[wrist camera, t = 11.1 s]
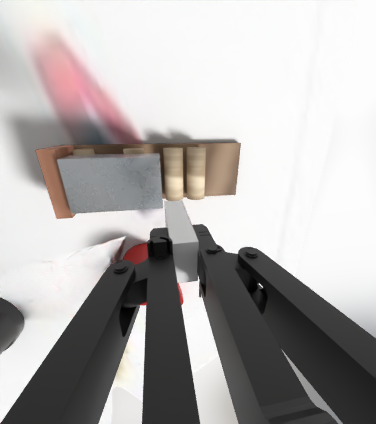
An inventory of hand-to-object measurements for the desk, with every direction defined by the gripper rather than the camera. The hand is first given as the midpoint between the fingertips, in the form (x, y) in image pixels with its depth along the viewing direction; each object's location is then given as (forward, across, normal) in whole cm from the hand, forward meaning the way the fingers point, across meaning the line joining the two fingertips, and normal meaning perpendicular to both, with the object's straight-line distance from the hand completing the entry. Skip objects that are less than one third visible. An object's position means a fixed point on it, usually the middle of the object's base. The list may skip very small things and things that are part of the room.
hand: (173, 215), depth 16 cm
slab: (+14, -7, 0) cm, 16 cm away
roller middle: (+14, +1, 0) cm, 14 cm away
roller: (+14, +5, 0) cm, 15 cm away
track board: (+18, -1, 0) cm, 18 cm away
